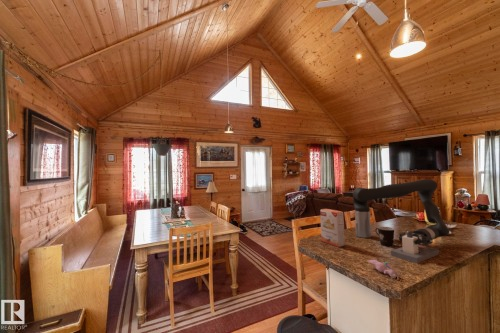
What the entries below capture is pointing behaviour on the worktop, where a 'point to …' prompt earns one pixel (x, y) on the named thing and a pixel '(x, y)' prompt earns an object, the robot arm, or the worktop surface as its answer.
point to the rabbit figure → (385, 268)
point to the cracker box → (332, 227)
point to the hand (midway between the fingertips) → (407, 240)
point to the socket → (423, 254)
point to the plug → (409, 244)
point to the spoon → (451, 227)
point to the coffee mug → (386, 236)
